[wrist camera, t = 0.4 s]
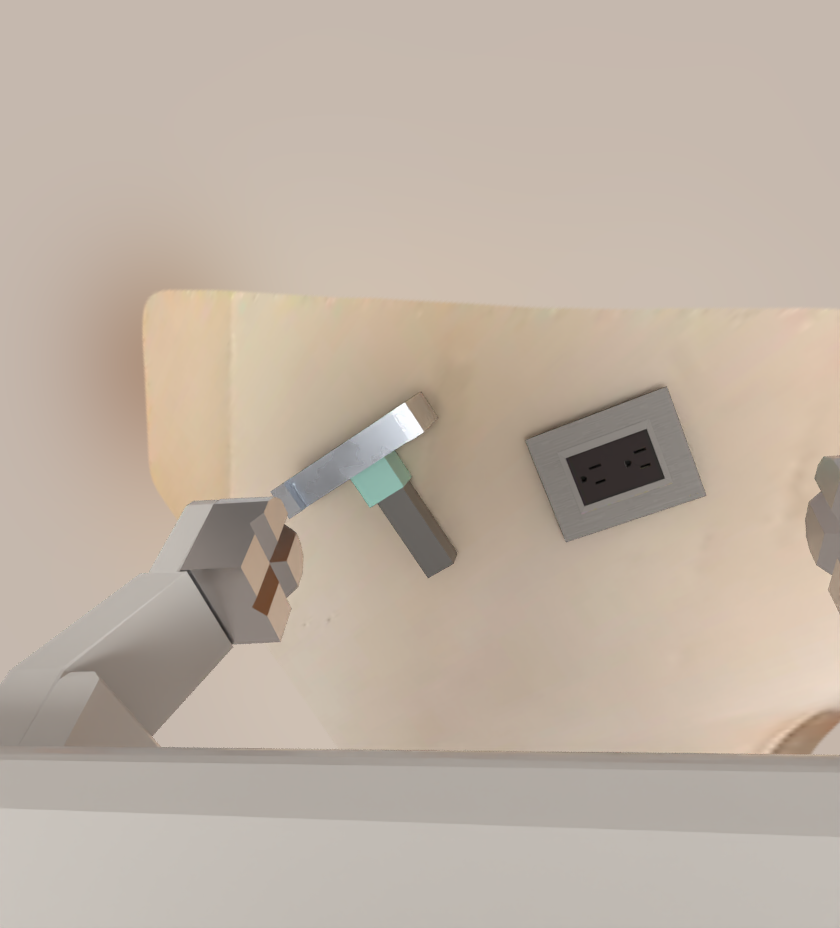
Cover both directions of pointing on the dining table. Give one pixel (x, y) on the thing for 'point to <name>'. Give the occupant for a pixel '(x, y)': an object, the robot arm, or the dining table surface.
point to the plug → (406, 512)
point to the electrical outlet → (616, 465)
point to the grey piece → (356, 454)
